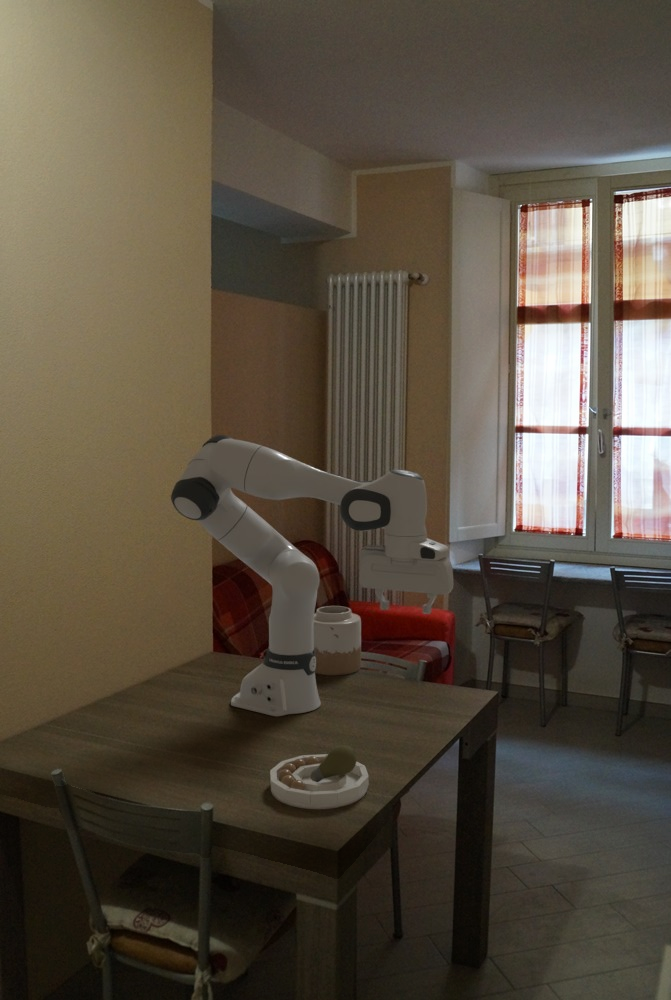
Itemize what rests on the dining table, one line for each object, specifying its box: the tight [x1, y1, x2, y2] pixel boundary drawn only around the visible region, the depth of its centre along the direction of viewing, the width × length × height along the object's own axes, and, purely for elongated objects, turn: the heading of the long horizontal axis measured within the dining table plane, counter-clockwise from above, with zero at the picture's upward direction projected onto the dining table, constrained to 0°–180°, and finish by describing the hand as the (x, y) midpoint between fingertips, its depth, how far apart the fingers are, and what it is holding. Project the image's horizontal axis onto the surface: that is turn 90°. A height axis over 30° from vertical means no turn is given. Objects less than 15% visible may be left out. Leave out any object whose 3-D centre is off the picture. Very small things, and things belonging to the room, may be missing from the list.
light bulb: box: [310, 744, 357, 782], centre depth 184 cm, size 6×6×10 cm
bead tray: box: [269, 753, 370, 810], centre depth 185 cm, size 19×19×4 cm
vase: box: [314, 605, 362, 676], centre depth 264 cm, size 15×15×17 cm
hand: (405, 611), depth 199 cm, fingers open, 8 cm apart
